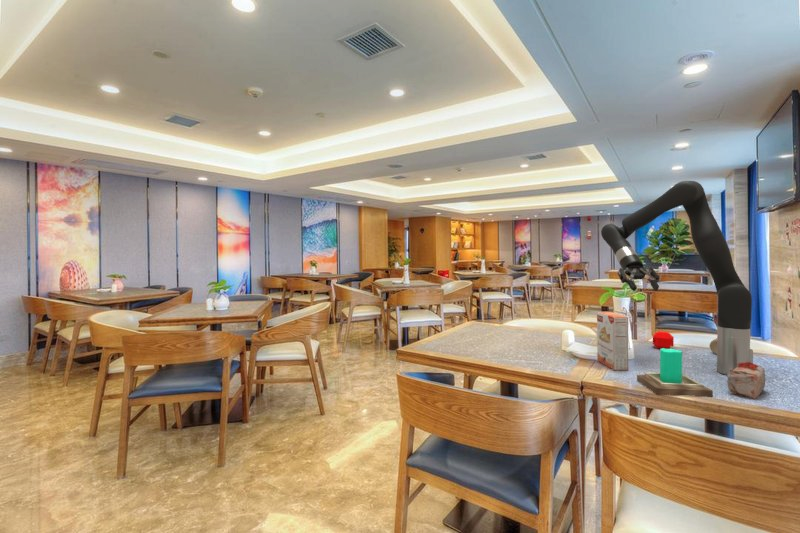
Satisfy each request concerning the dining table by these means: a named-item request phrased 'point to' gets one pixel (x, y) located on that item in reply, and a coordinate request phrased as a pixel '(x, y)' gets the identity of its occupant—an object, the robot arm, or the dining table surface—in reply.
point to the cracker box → (612, 340)
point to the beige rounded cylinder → (713, 346)
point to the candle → (670, 366)
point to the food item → (746, 380)
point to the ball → (663, 340)
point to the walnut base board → (674, 386)
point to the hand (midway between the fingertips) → (646, 289)
